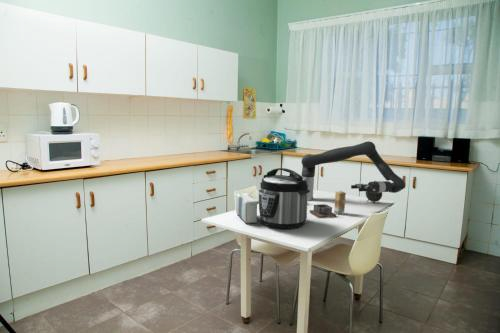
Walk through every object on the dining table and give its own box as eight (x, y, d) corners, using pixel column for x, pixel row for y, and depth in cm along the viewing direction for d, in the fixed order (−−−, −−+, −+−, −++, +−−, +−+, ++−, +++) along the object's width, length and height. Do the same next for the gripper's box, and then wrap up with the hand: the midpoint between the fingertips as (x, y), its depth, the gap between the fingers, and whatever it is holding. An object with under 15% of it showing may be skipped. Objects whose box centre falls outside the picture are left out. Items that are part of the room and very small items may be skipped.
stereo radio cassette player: (235, 214, 220) (235, 182, 217) (247, 213, 222) (248, 182, 219) (244, 224, 200) (245, 189, 197) (258, 223, 203) (259, 189, 200)
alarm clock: (380, 202, 260) (382, 180, 258) (382, 204, 255) (384, 182, 253) (364, 201, 262) (366, 179, 259) (366, 203, 256) (368, 181, 254)
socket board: (318, 218, 217) (318, 209, 216) (309, 212, 228) (309, 204, 227) (335, 216, 220) (336, 208, 220) (326, 211, 232) (326, 203, 231)
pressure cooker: (253, 215, 218) (254, 164, 213) (297, 214, 223) (300, 164, 218) (263, 232, 189) (265, 173, 184) (313, 230, 193) (317, 173, 189)
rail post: (337, 214, 225) (339, 193, 223) (334, 212, 229) (335, 191, 227) (344, 214, 226) (345, 192, 224) (340, 212, 231) (341, 191, 228)
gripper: (370, 179, 239) (349, 180, 234) (384, 183, 226) (362, 184, 221) (369, 190, 240) (348, 191, 235) (383, 195, 227) (361, 196, 222)
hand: (355, 188), depth 228 cm, fingers open, 8 cm apart
